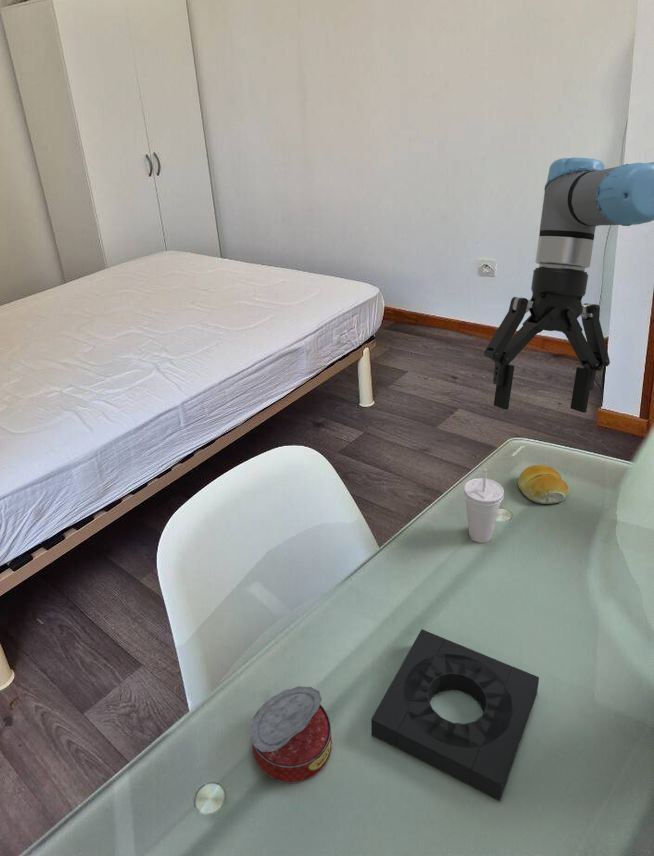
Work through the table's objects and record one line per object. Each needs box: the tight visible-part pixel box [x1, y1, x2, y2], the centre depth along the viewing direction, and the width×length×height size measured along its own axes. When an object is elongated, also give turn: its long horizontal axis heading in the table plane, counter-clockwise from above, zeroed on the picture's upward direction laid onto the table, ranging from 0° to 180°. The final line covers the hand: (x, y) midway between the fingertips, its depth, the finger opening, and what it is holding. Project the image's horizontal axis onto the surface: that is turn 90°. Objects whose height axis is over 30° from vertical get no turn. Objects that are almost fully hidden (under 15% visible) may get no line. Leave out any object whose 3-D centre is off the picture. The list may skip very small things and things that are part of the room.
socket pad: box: [370, 628, 540, 802], centre depth 87 cm, size 16×16×3 cm
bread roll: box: [517, 464, 570, 505], centre depth 126 cm, size 8×9×4 cm
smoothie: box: [462, 468, 505, 544], centre depth 114 cm, size 6×6×14 cm
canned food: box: [249, 685, 333, 784], centre depth 84 cm, size 11×10×10 cm
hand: (540, 409), depth 104 cm, fingers open, 13 cm apart
